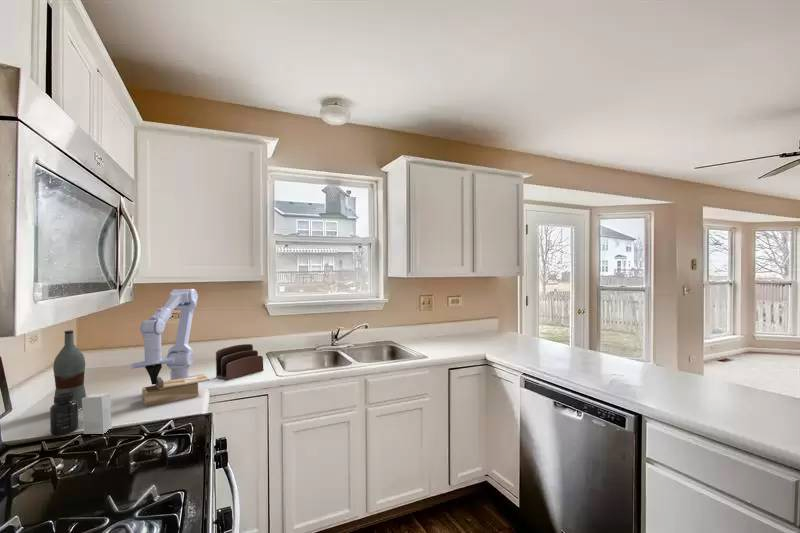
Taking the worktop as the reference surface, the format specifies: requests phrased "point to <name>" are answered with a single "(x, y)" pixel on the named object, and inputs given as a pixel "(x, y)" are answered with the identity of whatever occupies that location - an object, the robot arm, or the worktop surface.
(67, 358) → the vodka
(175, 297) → the robot arm
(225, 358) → the letter holder
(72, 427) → the supplement bottle
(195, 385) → the box
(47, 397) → the worktop surface
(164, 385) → the mailer lid
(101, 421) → the skincare box
